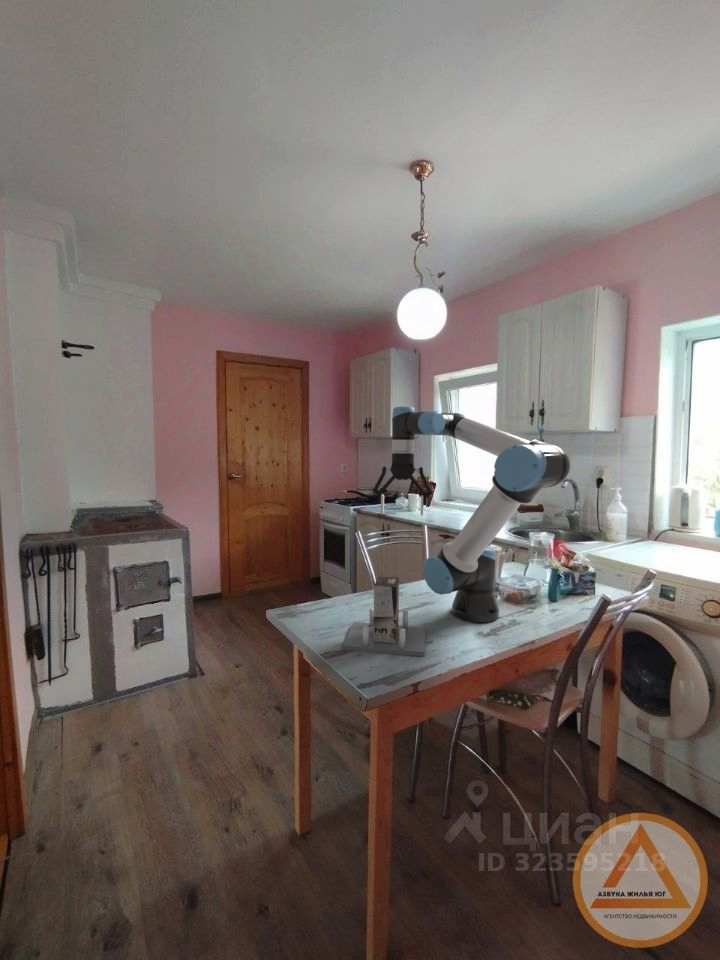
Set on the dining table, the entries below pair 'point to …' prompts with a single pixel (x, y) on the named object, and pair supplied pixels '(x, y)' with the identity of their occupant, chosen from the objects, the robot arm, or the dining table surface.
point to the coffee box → (386, 609)
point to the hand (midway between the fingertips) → (401, 514)
